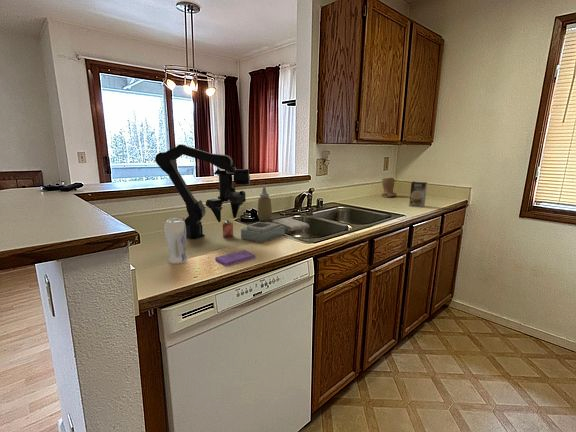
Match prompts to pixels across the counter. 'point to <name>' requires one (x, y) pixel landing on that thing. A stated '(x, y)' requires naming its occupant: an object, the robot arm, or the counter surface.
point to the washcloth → (291, 224)
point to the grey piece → (262, 231)
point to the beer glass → (176, 239)
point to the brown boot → (388, 187)
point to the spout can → (227, 229)
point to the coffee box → (418, 194)
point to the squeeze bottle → (264, 206)
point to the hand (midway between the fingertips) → (227, 220)
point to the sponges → (235, 257)
